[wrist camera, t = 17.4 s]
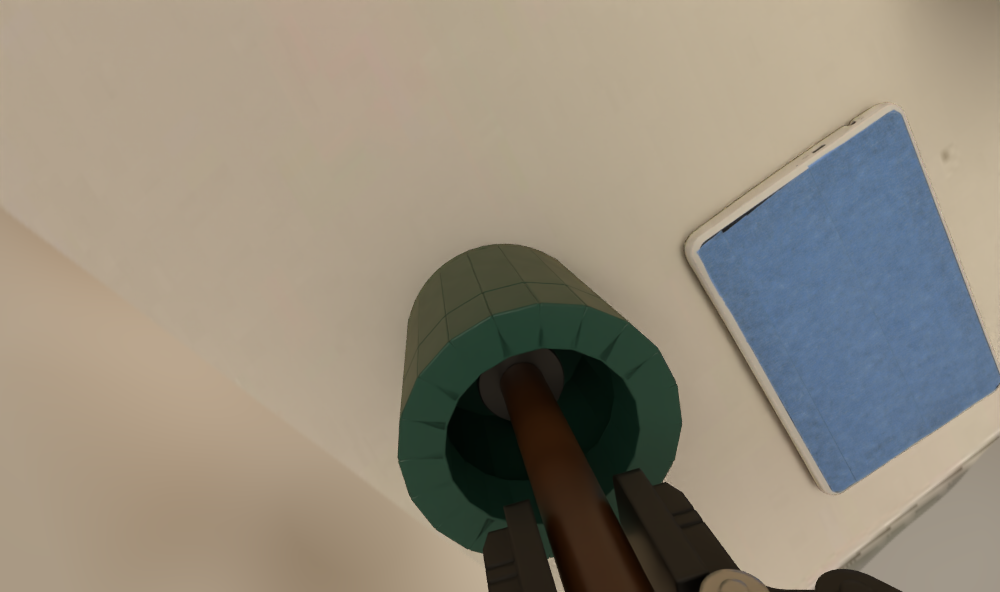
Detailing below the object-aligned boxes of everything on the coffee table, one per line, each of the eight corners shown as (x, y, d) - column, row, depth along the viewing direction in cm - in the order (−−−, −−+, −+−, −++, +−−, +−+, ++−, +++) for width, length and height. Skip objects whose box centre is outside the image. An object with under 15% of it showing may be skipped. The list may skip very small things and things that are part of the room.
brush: (477, 379, 26) (576, 817, 9) (460, 314, 25) (537, 674, 8) (545, 361, 27) (765, 755, 9) (531, 296, 25) (752, 608, 8)
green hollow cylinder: (434, 437, 28) (440, 591, 18) (384, 270, 25) (360, 348, 15) (603, 391, 28) (694, 517, 19) (573, 223, 25) (664, 271, 16)
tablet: (672, 241, 26) (685, 246, 25) (883, 94, 26) (907, 91, 24) (815, 490, 32) (831, 505, 31) (989, 375, 32) (1013, 385, 30)
